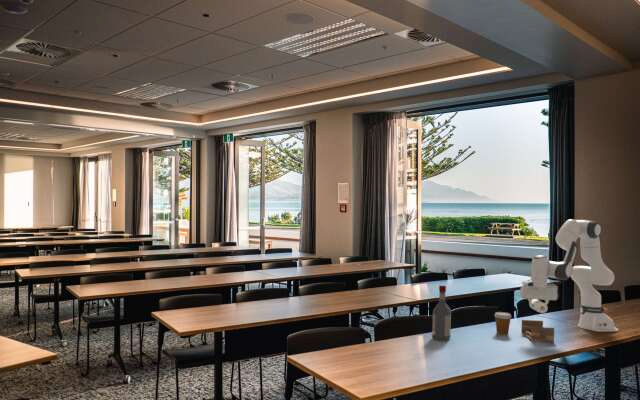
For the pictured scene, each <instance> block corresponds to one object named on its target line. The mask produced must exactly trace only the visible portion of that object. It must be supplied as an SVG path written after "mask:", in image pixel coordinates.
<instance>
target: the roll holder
mask: <svg viewBox="0 0 640 400" xmlns="http://www.w3.org/2000/svg"><path fill="white" fill-rule="evenodd" d="M521 334H522V335H523V336H524V337H526V339H528V340H529V341H530V342H532V343H553V344H554V343H555V328H554V327H546V326H544V320H541V319H540V320H537V319H535V320H534V319H533V320H532V319H521Z"/></svg>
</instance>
